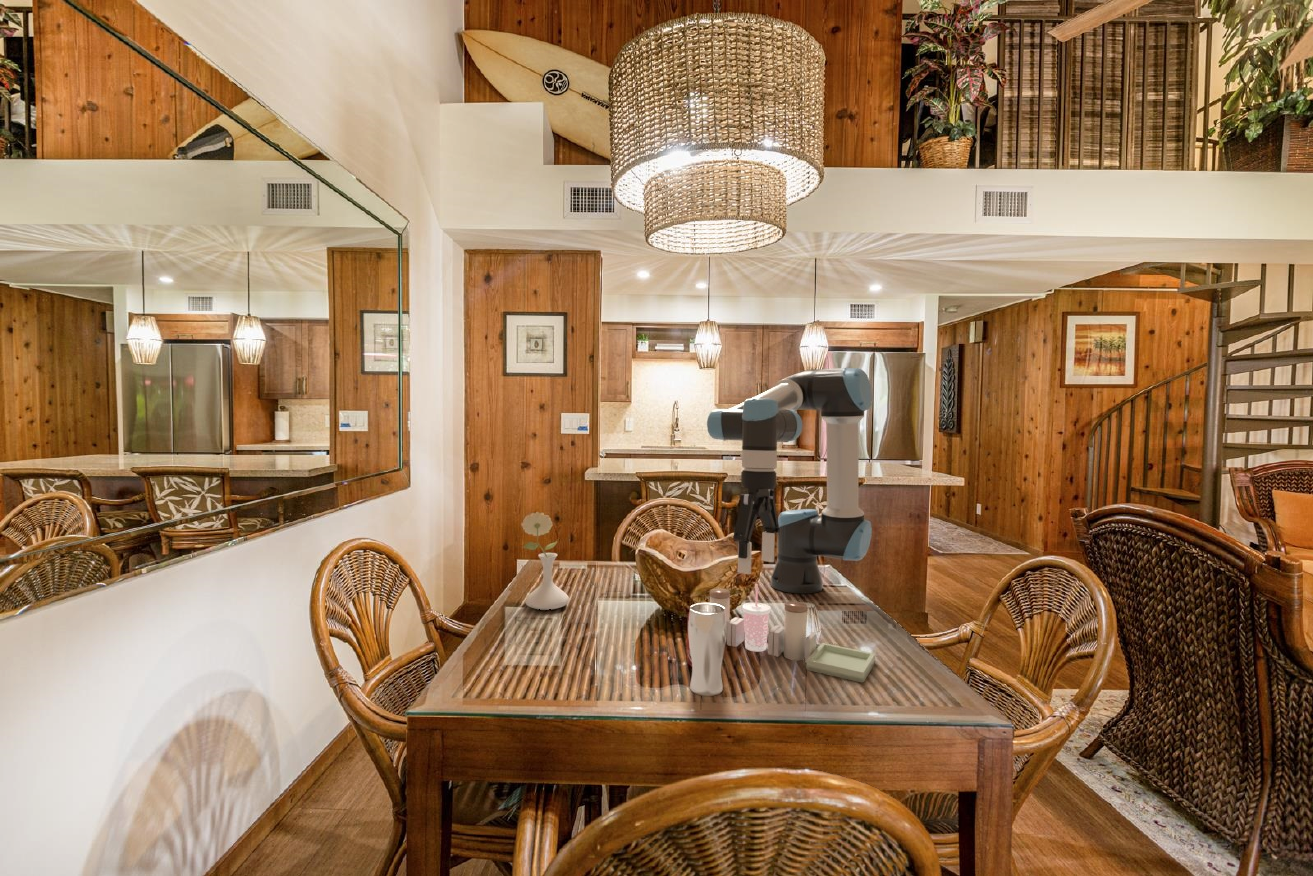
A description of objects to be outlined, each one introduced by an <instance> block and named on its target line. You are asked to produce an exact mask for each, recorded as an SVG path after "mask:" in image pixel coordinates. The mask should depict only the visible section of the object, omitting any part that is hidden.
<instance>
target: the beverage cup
mask: <svg viewBox="0 0 1313 876" xmlns="http://www.w3.org/2000/svg"><path fill="white" fill-rule="evenodd" d="M758 589H759V584H758V583H755V601H754V602H747V603H744V604H742V612H743V619H744V632H745V637H744V646H745V647H744V648H745V649H746V650H748V651H751V652H764V651H766V650H767V647H768V645H767V644H768V642H767V634H768V631H769V619H770V613H771V609H772V608H771V606H770V605H768V604H765V603H761V602H760V603H759V602H758V601H759V600H758V599H759V597H758V596H759V593H758V592H759V590H758Z"/></svg>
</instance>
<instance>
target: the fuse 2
mask: <svg viewBox="0 0 1313 876" xmlns="http://www.w3.org/2000/svg"><path fill="white" fill-rule="evenodd" d="M807 611H808V605H807V604H806V602H802V601H801V602H800V601H795V600H794V601H793V600H792V601H786V602H784V624H783V625H784V626H783V627H784V651H783V656H784V658H785V659H788V660H791V661H804V660H805V639H806V638H807V619H808V618H807V614H808V613H807ZM803 659H804V660H803Z"/></svg>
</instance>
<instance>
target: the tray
mask: <svg viewBox="0 0 1313 876" xmlns="http://www.w3.org/2000/svg"><path fill="white" fill-rule="evenodd" d="M819 645H820V646H819V647H818V648H817V649H816V650H815V651H814V652H813V653H812V654H811V655H810V657H809V658H808V659H807V660H806V663H805V664H806V667H805V669H806V671H809V670H810V672H815V673H820V674H822V673H823V675H827V676H832V677H837V678H840V679H844V680H847V681H848V680H849V681H853V682H858V683H861V684H864V683H865V680H866V679H867V677H868V676H869V674H870V672H871V671H872V669H873V667H874V666H875V664H876V653H874V652H870V651H869V652H868V651H864V650H858V649H854V648H850V647H844V646H840V645H839V646H838V645H835V644H831V643H830V644H829V643H825V642H821V644H819Z"/></svg>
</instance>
